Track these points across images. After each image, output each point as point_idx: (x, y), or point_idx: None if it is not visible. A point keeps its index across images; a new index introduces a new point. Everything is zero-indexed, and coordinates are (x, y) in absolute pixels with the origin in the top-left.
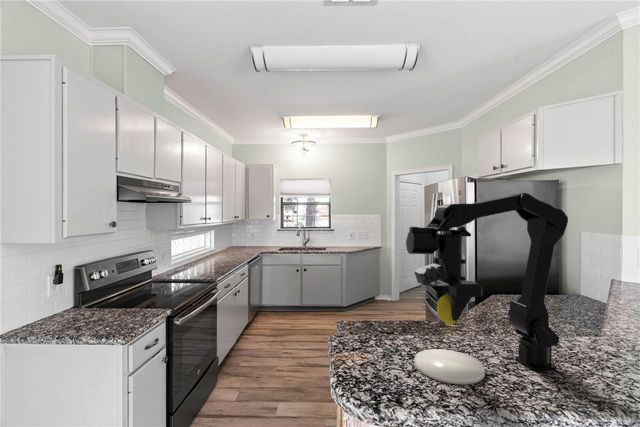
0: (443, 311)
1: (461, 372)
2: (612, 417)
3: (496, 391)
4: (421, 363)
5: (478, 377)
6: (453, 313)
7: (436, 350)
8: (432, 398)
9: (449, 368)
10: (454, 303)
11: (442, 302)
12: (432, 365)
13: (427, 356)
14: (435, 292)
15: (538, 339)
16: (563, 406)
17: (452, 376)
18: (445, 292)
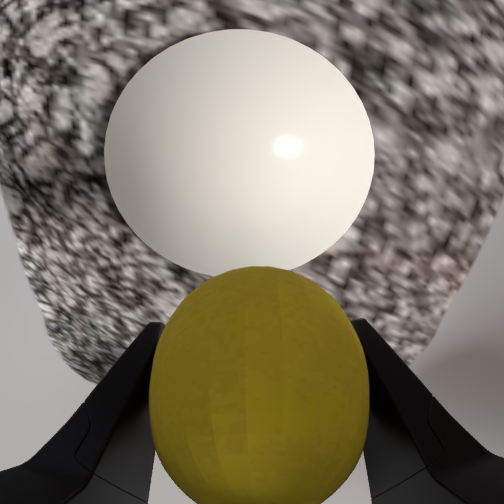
0: (181, 333)
1: (150, 181)
2: (58, 350)
3: (88, 233)
4: (236, 49)
5: (126, 220)
6: (112, 367)
7: (358, 179)
8: (35, 37)
9: (182, 150)
10: (51, 446)
11: (206, 423)
12: (213, 90)
13: (307, 108)
14: (464, 458)
15: None
16: (65, 317)
17: (118, 135)
18: (390, 498)
